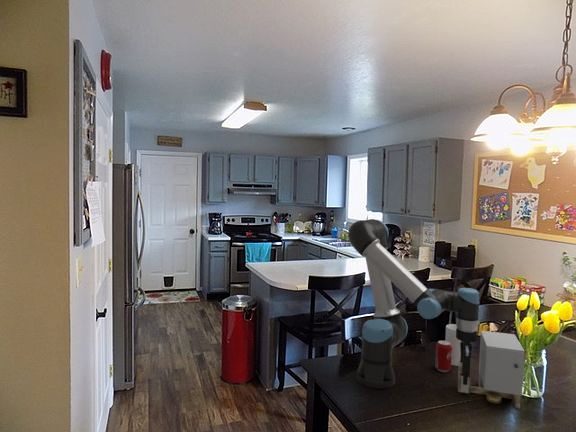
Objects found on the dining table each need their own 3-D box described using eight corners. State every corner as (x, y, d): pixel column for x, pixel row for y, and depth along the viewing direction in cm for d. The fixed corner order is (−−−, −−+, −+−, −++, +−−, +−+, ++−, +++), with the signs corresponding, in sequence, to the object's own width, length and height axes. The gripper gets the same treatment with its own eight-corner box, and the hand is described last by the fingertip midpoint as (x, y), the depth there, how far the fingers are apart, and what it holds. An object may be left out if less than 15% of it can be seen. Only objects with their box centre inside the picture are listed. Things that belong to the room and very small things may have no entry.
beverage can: (452, 373, 176) (453, 345, 175) (436, 372, 177) (437, 344, 177) (449, 367, 182) (450, 340, 182) (434, 366, 184) (435, 339, 183)
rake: (459, 398, 155) (460, 372, 154) (457, 387, 164) (458, 362, 163) (520, 408, 149) (521, 381, 148) (514, 396, 158) (516, 370, 157)
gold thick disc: (486, 402, 153) (487, 397, 153) (485, 396, 158) (485, 391, 158) (502, 405, 151) (502, 399, 151) (500, 398, 156) (500, 393, 156)
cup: (467, 363, 188) (469, 328, 187) (456, 367, 183) (458, 331, 182) (451, 357, 194) (453, 323, 193) (440, 360, 190) (442, 326, 189)
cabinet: (483, 405, 150) (487, 347, 149) (478, 383, 168) (480, 330, 167) (521, 412, 146) (525, 352, 145) (511, 388, 164) (514, 334, 163)
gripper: (480, 338, 150) (476, 401, 151) (475, 323, 168) (472, 379, 169) (457, 335, 152) (454, 397, 154) (454, 321, 170) (452, 376, 171)
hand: (463, 388), depth 161 cm, fingers open, 6 cm apart
